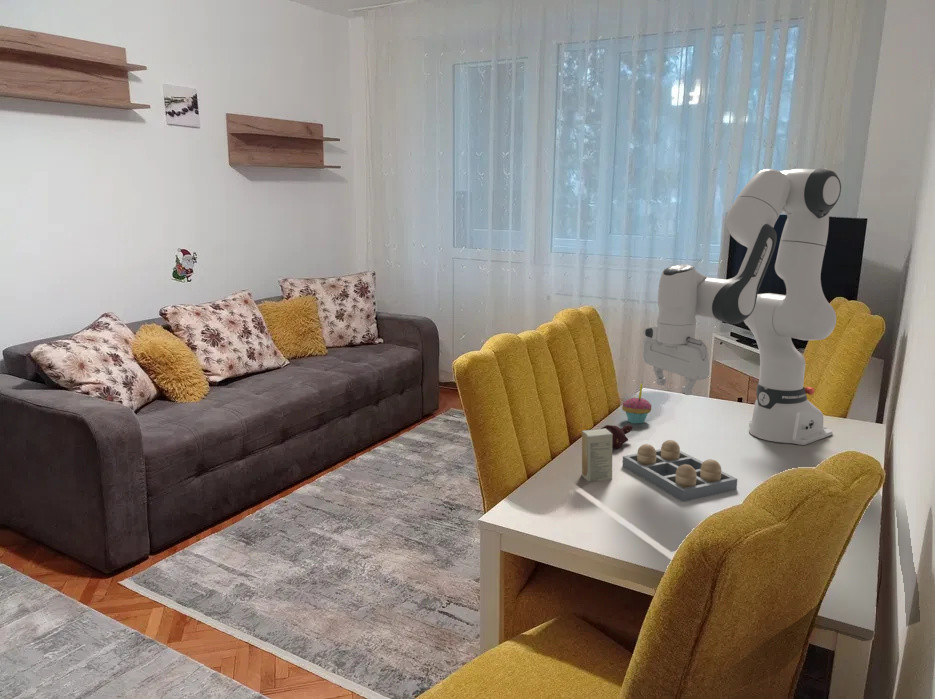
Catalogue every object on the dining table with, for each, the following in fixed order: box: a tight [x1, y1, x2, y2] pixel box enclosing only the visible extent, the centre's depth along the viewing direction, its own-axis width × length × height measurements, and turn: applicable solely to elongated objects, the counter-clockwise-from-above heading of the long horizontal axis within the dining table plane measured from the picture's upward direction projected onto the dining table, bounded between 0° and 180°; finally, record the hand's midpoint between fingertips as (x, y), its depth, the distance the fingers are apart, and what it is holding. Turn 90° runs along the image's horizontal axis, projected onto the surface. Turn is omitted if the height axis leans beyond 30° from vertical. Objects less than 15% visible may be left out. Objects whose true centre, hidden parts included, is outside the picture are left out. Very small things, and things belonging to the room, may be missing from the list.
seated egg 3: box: [700, 458, 722, 483], centre depth 152 cm, size 4×4×6 cm
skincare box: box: [581, 428, 613, 482], centre depth 157 cm, size 6×4×12 cm
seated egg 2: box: [675, 464, 697, 488], centre depth 149 cm, size 4×4×6 cm
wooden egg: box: [660, 439, 681, 461], centre depth 165 cm, size 4×4×6 cm
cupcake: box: [621, 382, 652, 424], centre depth 199 cm, size 9×8×12 cm
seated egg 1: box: [636, 443, 657, 465], centre depth 162 cm, size 4×4×6 cm
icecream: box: [600, 424, 633, 450], centre depth 178 cm, size 7×7×15 cm
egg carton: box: [622, 448, 738, 502], centre depth 157 cm, size 15×22×4 cm
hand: (673, 389), depth 164 cm, fingers open, 8 cm apart
